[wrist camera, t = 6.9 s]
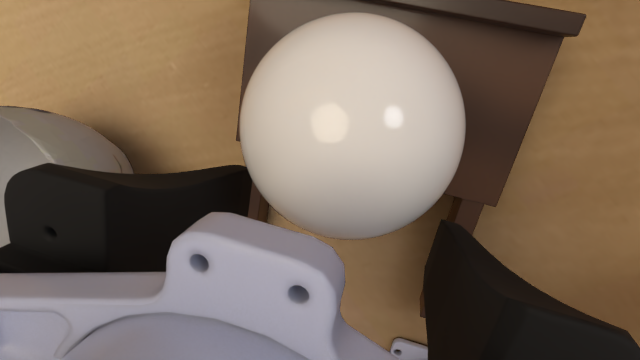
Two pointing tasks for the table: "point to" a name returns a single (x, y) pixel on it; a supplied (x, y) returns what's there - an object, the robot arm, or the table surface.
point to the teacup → (50, 148)
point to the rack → (468, 67)
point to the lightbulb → (352, 126)
